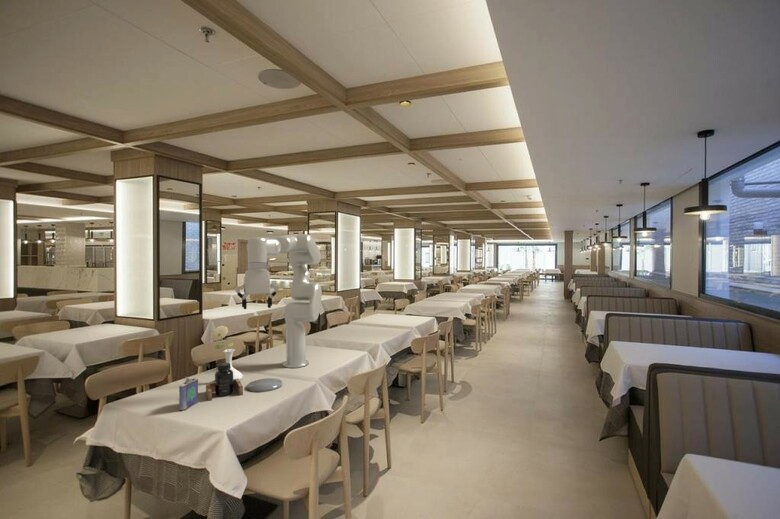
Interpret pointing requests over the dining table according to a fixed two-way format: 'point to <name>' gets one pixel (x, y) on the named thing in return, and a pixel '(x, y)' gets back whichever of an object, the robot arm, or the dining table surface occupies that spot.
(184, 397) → the flask
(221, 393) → the supplement bottle
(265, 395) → the dining table surface
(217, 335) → the flower in vase
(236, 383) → the brown wooden arch piece
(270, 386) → the plate
